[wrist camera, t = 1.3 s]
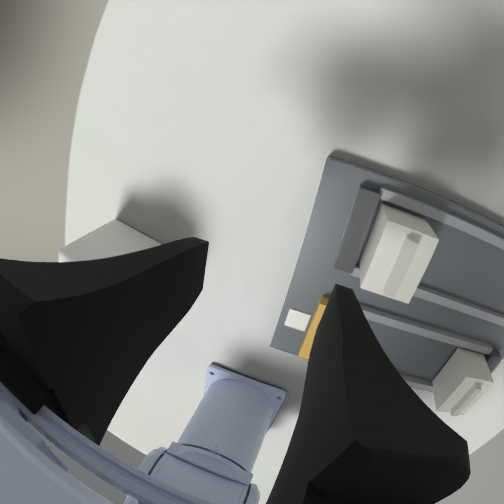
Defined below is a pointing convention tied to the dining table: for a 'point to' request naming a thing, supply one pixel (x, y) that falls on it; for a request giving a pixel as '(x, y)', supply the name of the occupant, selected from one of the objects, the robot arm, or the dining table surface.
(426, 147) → the dining table surface
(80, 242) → the medicine bottle
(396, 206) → the switch board
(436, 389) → the tab
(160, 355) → the dining table surface
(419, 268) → the tab
